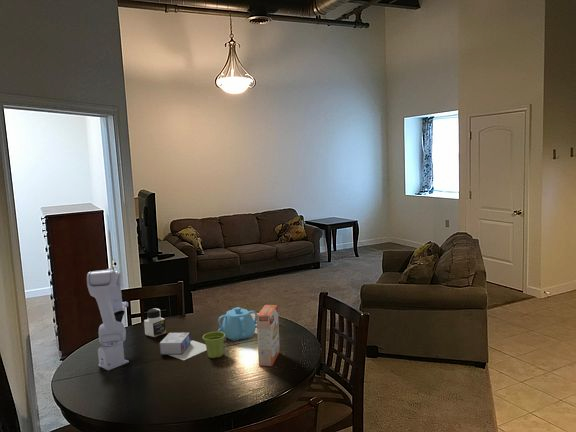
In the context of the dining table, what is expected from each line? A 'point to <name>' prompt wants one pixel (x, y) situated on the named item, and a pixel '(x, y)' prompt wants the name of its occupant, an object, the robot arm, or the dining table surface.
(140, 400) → the dining table surface
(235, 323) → the light blue teapot
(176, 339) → the ink cartridge box
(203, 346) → the mat
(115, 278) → the robot arm
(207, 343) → the plant pot
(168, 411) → the dining table surface
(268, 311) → the cracker box
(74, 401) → the dining table surface
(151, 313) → the medicine bottle
